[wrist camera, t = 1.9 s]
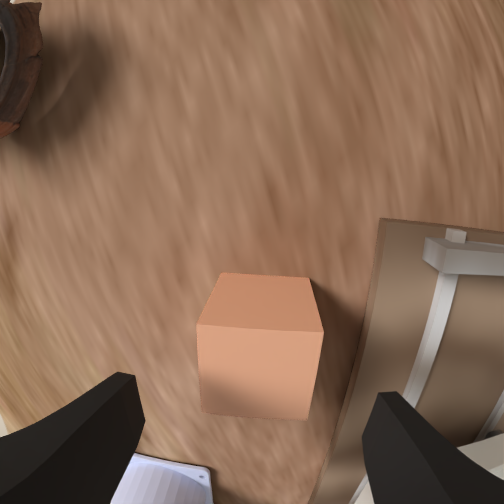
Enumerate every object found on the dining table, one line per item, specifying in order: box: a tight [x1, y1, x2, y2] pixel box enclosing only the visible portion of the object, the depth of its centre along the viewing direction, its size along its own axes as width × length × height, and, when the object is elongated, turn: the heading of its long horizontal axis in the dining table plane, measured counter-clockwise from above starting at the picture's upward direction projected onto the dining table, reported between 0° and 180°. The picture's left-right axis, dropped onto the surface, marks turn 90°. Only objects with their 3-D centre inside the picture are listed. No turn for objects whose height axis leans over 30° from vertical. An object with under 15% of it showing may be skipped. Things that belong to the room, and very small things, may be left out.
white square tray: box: [354, 429, 504, 504], centre depth 14 cm, size 11×12×4 cm
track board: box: [308, 218, 504, 504], centre depth 15 cm, size 30×16×3 cm, turn 178°
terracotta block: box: [196, 273, 324, 420], centre depth 12 cm, size 4×4×5 cm
